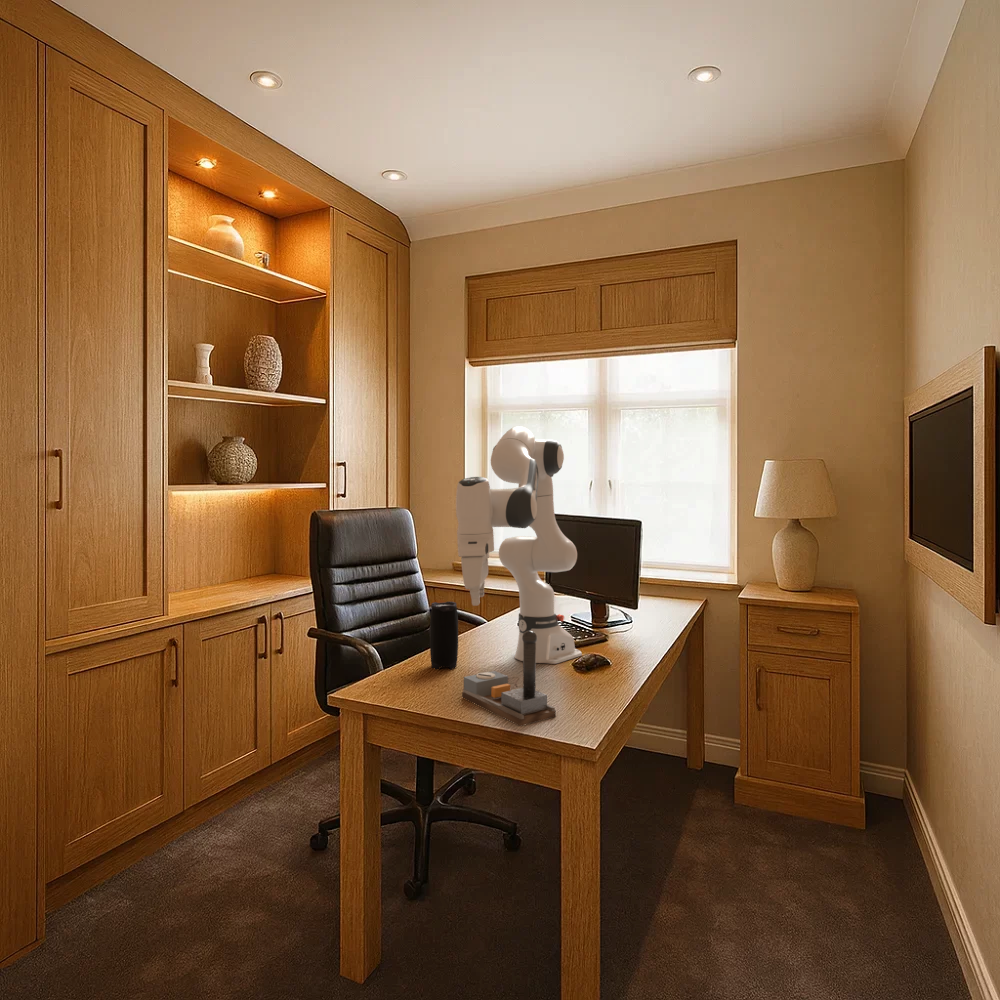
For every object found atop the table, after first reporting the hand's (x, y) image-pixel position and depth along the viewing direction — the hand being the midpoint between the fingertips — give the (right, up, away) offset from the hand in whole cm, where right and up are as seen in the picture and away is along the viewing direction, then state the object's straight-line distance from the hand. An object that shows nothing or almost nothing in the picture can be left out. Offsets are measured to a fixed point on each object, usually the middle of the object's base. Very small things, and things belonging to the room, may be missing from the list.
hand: (478, 600), depth 169 cm
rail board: (+7, -28, +7) cm, 30 cm away
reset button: (+6, -26, +9) cm, 28 cm away
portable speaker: (-12, -27, +43) cm, 52 cm away
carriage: (+11, -27, +1) cm, 29 cm away
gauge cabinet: (+2, -26, +15) cm, 30 cm away
